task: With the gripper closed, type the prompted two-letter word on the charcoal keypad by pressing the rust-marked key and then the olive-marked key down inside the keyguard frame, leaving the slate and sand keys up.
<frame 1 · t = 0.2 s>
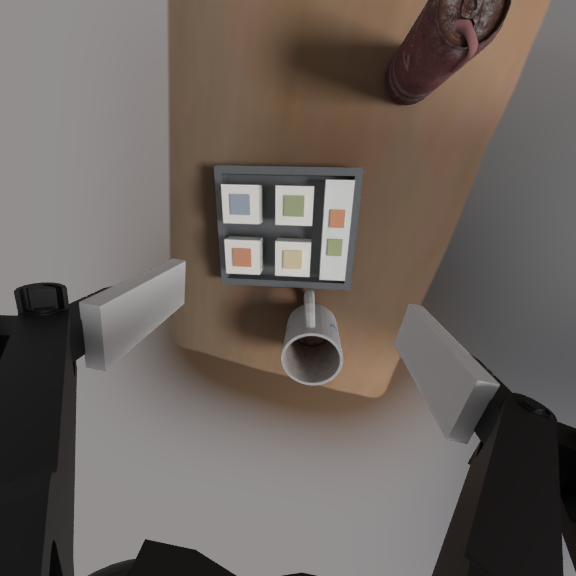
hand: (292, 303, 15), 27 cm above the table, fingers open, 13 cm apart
key rust: (244, 255, 39), point 4 cm above the table, slide at 0.0 cm
key slate: (242, 204, 36), point 4 cm above the table, slide at 0.0 cm
key sand: (293, 257, 38), point 4 cm above the table, slide at 0.0 cm
key olive: (294, 205, 36), point 4 cm above the table, slide at 0.0 cm
can: (409, 79, 33), on the table
keypad: (287, 228, 41), on the table
mug: (313, 316, 46), on the table
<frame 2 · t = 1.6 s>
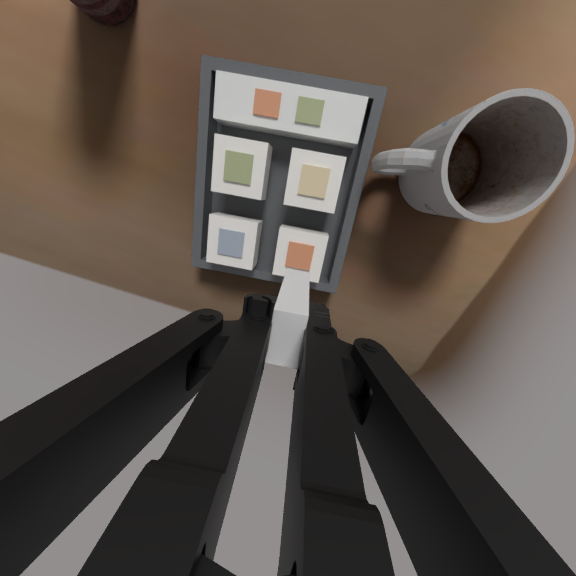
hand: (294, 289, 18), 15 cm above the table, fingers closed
key rust: (300, 253, 28), point 4 cm above the table, slide at 0.0 cm
key slate: (234, 240, 29), point 4 cm above the table, slide at 0.0 cm
key sand: (313, 182, 26), point 4 cm above the table, slide at 0.0 cm
key olive: (241, 169, 26), point 4 cm above the table, slide at 0.0 cm
keypad: (279, 189, 30), on the table
mug: (422, 167, 28), on the table
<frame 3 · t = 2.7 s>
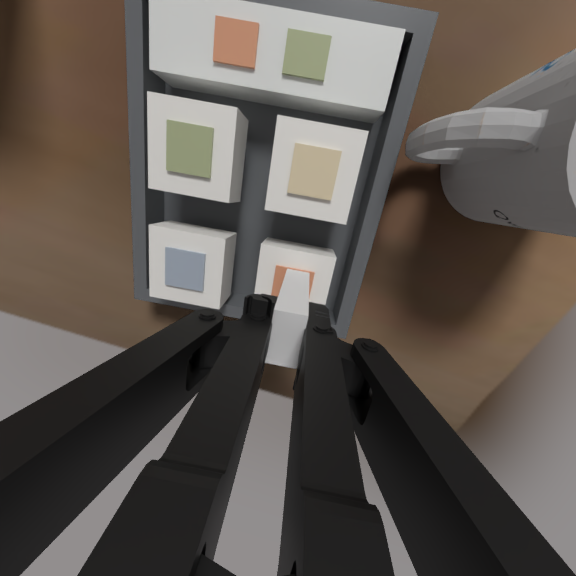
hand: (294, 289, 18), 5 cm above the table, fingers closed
key rust: (293, 280, 19), point 3 cm above the table, slide at 0.5 cm, touching gripper
key slate: (193, 264, 19), point 4 cm above the table, slide at 0.0 cm
key sand: (313, 174, 16), point 4 cm above the table, slide at 0.0 cm
key olive: (199, 153, 16), point 4 cm above the table, slide at 0.0 cm
keypad: (263, 185, 20), on the table
mug: (478, 152, 19), on the table
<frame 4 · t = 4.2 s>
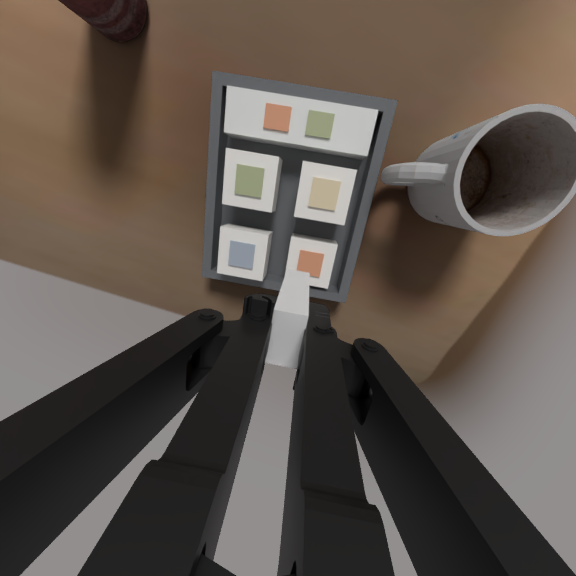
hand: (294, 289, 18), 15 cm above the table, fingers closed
key rust: (310, 260, 30), point 2 cm above the table, slide at 1.5 cm
key slate: (244, 252, 29), point 4 cm above the table, slide at 0.0 cm
key sand: (323, 194, 26), point 4 cm above the table, slide at 0.0 cm
key olive: (252, 181, 26), point 4 cm above the table, slide at 0.0 cm
can: (122, 6, 26), on the table
keypad: (289, 199, 30), on the table
mug: (432, 177, 28), on the table
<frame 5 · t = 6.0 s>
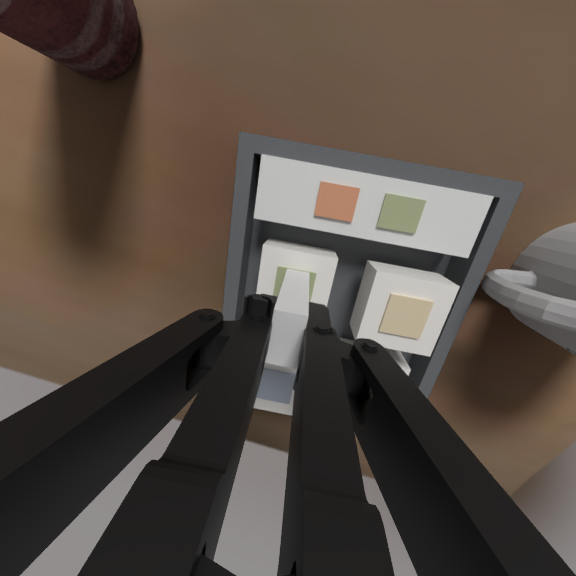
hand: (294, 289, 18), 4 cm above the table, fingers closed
key rust: (365, 378, 22), point 2 cm above the table, slide at 1.5 cm
key slate: (277, 373, 20), point 4 cm above the table, slide at 0.0 cm
key sand: (398, 307, 18), point 4 cm above the table, slide at 0.0 cm
key olive: (294, 281, 19), point 2 cm above the table, slide at 1.4 cm, touching gripper
can: (102, 27, 17), on the table
keypad: (336, 294, 22), on the table
mug: (541, 272, 20), on the table
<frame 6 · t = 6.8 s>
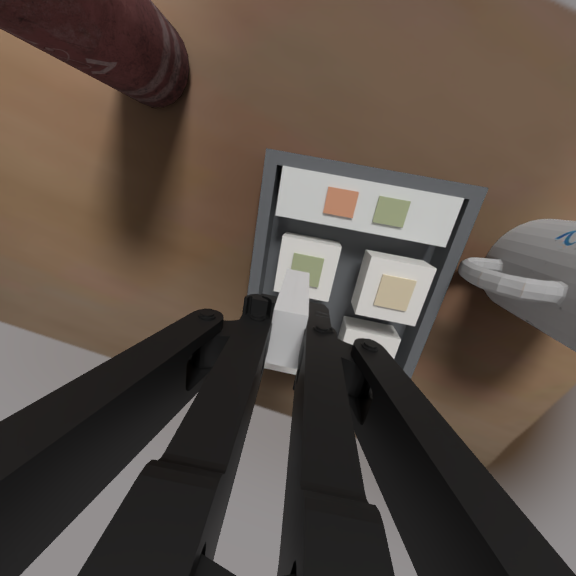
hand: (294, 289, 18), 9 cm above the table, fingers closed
key rust: (364, 349, 26), point 2 cm above the table, slide at 1.5 cm
key slate: (291, 342, 25), point 4 cm above the table, slide at 0.0 cm
key sand: (389, 287, 22), point 4 cm above the table, slide at 0.0 cm
key olive: (306, 266, 24), point 2 cm above the table, slide at 1.5 cm
can: (159, 67, 22), on the table
keypad: (340, 279, 26), on the table
mug: (511, 261, 24), on the table
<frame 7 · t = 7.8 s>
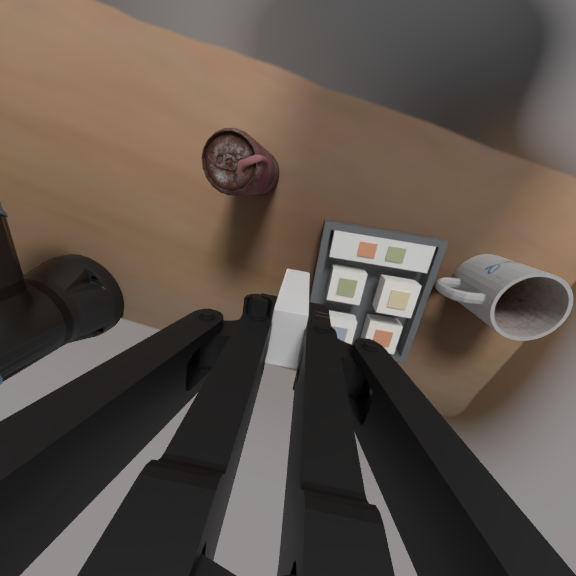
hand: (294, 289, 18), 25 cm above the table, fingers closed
key rust: (380, 333, 42), point 2 cm above the table, slide at 1.5 cm
key slate: (336, 330, 41), point 4 cm above the table, slide at 0.0 cm
key sand: (395, 296, 39), point 4 cm above the table, slide at 0.0 cm
key olive: (345, 284, 40), point 2 cm above the table, slide at 1.5 cm
can: (260, 172, 39), on the table
keypad: (364, 290, 43), on the table
mug: (468, 278, 40), on the table
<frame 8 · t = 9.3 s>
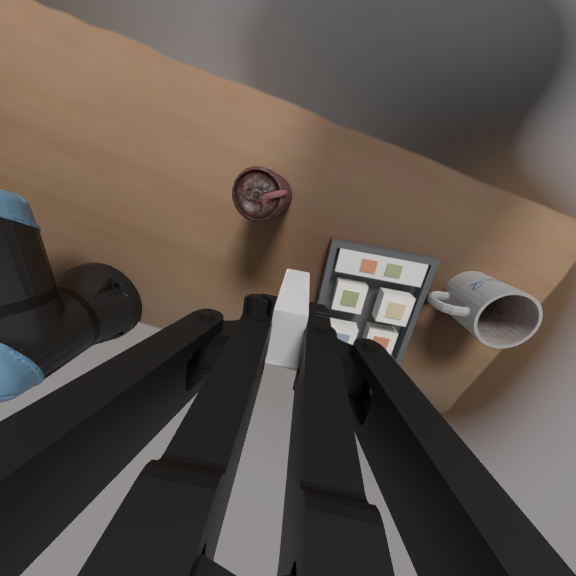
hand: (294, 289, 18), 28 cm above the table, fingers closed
key rust: (378, 339, 47), point 2 cm above the table, slide at 1.5 cm
key slate: (339, 336, 46), point 4 cm above the table, slide at 0.0 cm
key sand: (392, 307, 43), point 4 cm above the table, slide at 0.0 cm
key olive: (348, 295, 45), point 2 cm above the table, slide at 1.5 cm
can: (274, 194, 43), on the table
keypad: (365, 301, 47), on the table
mug: (456, 291, 46), on the table
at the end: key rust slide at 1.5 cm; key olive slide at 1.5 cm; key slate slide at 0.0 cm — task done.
